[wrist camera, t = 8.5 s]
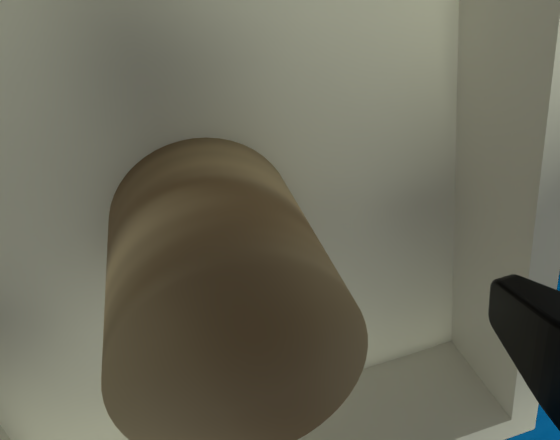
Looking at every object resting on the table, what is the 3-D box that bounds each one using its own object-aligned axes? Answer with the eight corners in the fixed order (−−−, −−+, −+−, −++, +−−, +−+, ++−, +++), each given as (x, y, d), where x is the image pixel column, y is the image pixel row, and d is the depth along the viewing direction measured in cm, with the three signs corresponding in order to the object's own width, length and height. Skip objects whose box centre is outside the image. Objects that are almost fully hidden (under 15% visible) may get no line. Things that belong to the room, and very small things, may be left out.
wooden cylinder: (140, 316, 14) (148, 492, 10) (80, 165, 11) (55, 312, 7) (301, 269, 14) (375, 417, 10) (276, 116, 12) (358, 227, 8)
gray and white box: (22, 474, 17) (-4, 616, 13) (-360, -60, 9) (-664, -39, 5) (460, 335, 19) (534, 428, 15) (478, -206, 11) (643, -259, 7)
